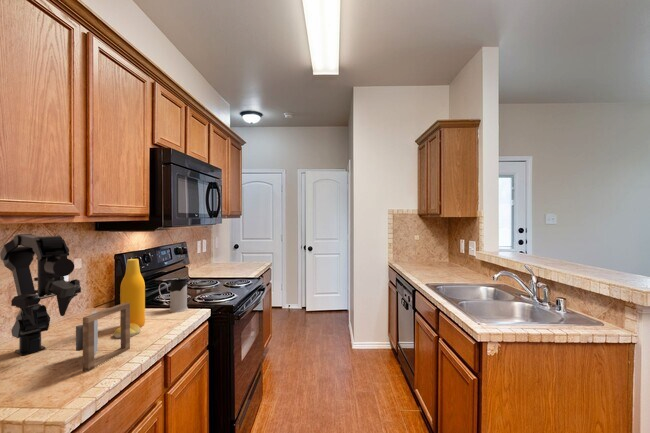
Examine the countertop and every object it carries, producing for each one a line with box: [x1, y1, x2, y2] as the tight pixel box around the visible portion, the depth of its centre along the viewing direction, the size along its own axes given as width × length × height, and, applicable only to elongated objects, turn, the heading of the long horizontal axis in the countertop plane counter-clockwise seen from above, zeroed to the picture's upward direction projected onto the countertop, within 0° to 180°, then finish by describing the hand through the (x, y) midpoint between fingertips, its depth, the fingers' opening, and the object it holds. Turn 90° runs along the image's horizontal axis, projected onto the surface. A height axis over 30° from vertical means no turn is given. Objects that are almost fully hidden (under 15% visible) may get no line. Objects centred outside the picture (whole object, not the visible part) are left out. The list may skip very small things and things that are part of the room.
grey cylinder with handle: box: [158, 278, 189, 313], centre depth 161 cm, size 9×14×15 cm, turn 94°
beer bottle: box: [119, 258, 146, 328], centre depth 137 cm, size 9×9×29 cm
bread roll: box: [113, 323, 142, 339], centre depth 128 cm, size 8×9×4 cm
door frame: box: [82, 303, 131, 372], centre depth 106 cm, size 2×17×16 cm, turn 172°
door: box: [75, 310, 99, 356], centre depth 105 cm, size 6×12×14 cm, turn 24°
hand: (49, 320), depth 106 cm, fingers open, 9 cm apart
